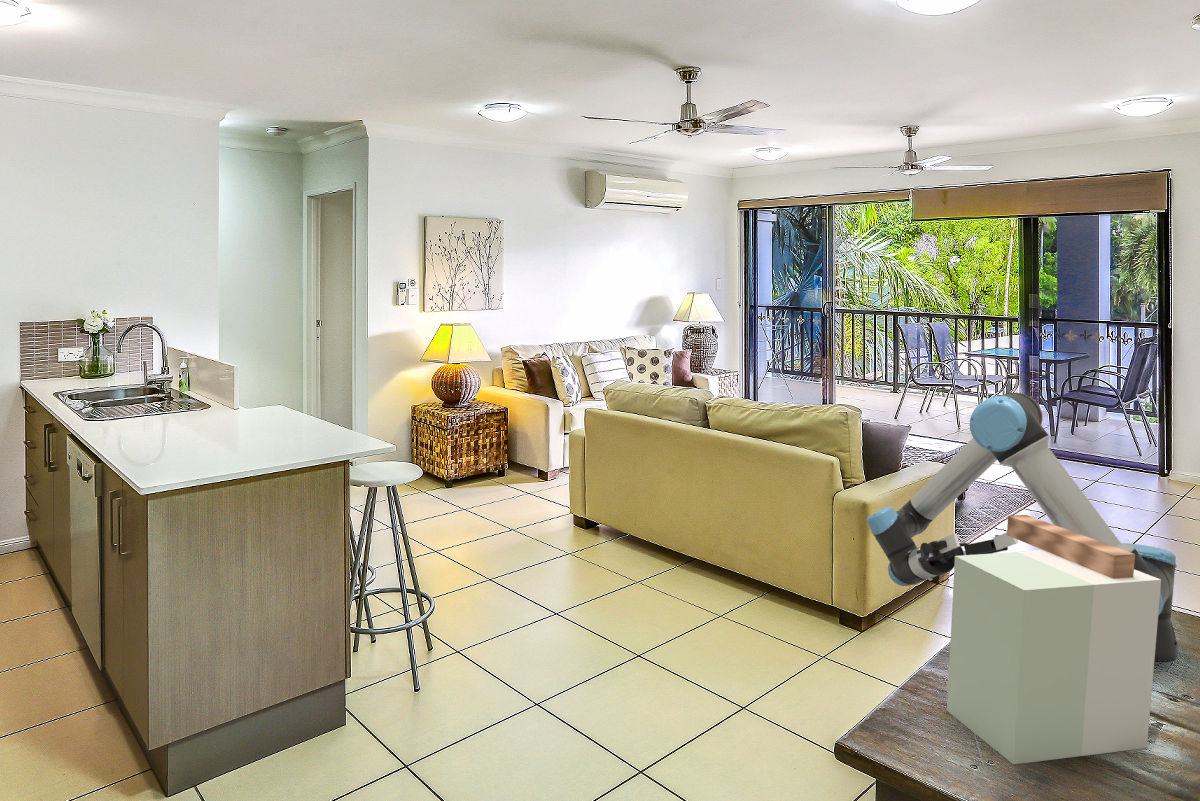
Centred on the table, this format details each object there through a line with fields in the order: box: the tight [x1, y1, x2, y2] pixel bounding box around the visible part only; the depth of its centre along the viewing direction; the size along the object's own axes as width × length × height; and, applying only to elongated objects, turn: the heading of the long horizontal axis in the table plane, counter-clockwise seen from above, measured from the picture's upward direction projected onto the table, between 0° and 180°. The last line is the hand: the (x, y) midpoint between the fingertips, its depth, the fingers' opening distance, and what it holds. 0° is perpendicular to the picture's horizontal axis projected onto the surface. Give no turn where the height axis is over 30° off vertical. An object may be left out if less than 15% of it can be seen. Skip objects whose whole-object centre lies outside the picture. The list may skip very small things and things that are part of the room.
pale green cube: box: [946, 549, 1161, 765], centre depth 141 cm, size 18×26×30 cm
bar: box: [1006, 514, 1135, 579], centre depth 147 cm, size 26×4×4 cm, turn 11°
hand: (986, 538), depth 168 cm, fingers open, 13 cm apart
